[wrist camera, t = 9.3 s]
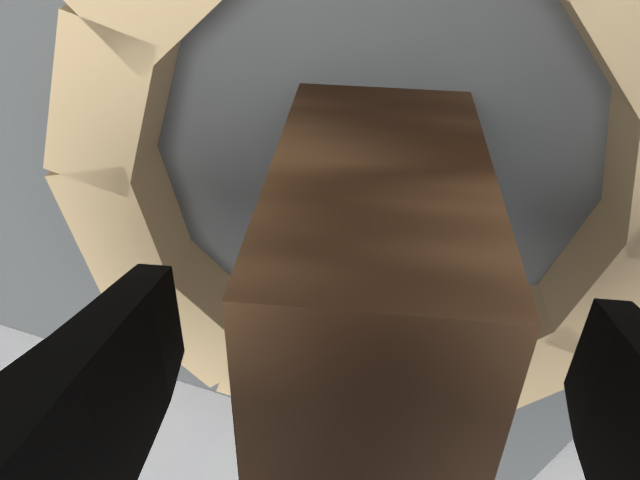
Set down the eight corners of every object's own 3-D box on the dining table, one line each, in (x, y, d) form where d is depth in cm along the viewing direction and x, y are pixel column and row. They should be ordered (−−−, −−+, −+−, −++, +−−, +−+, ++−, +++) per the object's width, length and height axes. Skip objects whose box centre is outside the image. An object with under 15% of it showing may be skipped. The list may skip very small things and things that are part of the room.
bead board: (1079, -93, 11) (1223, -76, 9) (520, 479, 22) (533, 542, 20) (17, -623, 9) (-88, -752, 7) (-17, 308, 20) (-61, 361, 18)
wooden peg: (470, 91, 14) (540, 326, 7) (446, 234, 16) (485, 510, 10) (299, 82, 14) (222, 301, 8) (299, 224, 17) (240, 487, 10)
